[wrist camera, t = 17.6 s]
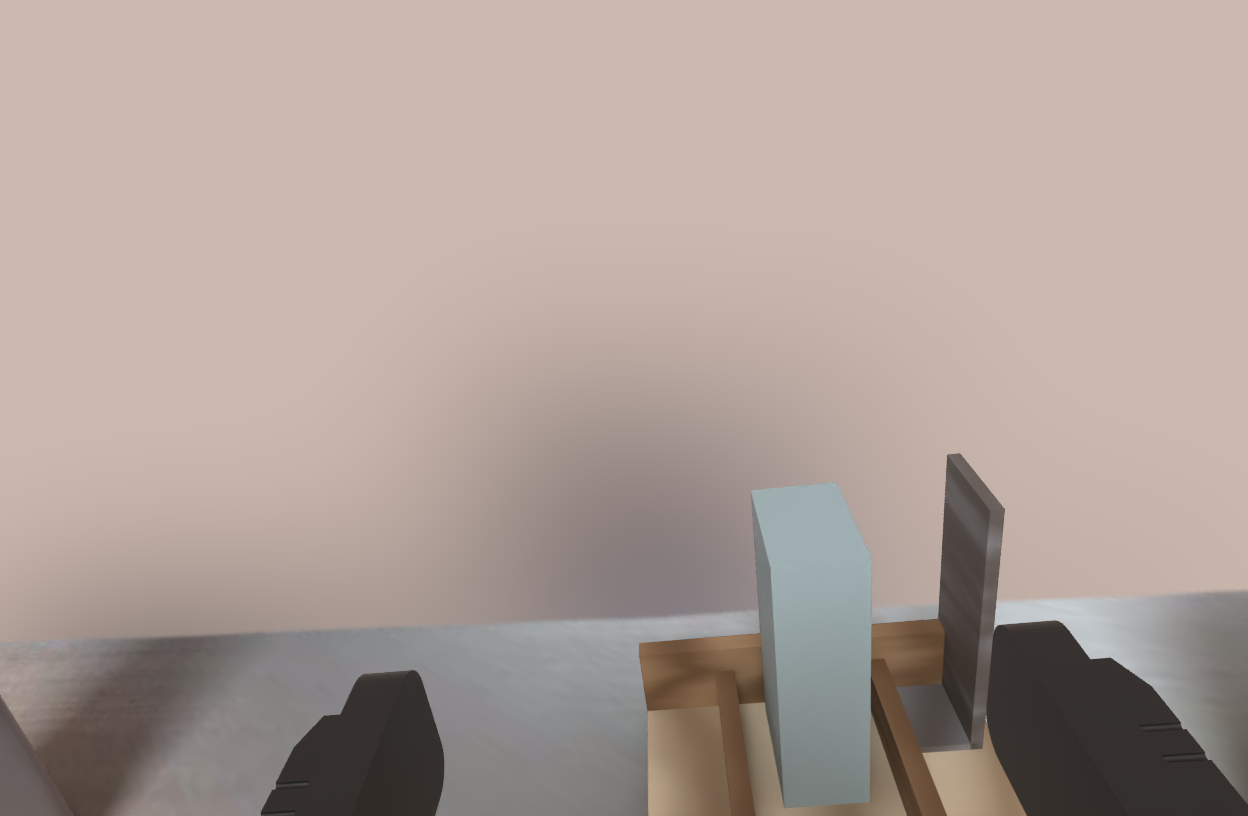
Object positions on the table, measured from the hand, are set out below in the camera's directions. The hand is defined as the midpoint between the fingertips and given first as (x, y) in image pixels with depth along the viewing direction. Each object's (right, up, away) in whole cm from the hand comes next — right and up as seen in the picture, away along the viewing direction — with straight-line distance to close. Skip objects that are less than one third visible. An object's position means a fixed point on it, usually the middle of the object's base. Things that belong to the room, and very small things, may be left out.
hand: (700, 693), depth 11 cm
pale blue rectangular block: (+9, -14, +28) cm, 32 cm away
